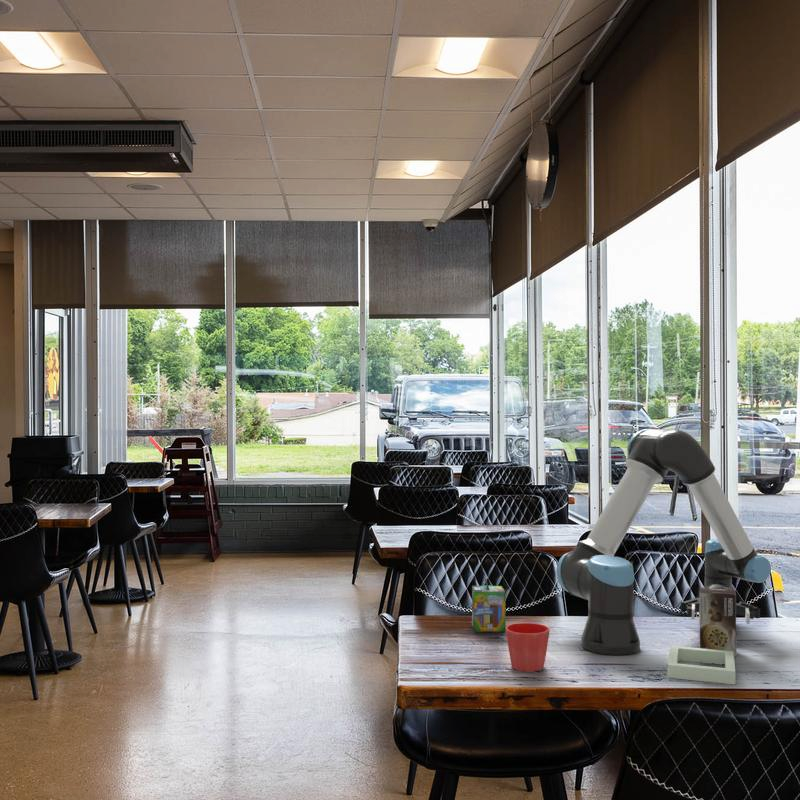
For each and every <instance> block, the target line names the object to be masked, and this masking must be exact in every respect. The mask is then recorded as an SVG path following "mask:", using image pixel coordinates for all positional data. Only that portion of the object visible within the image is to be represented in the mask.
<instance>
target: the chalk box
mask: <svg viewBox="0 0 800 800" xmlns="http://www.w3.org/2000/svg"><path fill="white" fill-rule="evenodd" d="M483 579H484V581H485V585H472V586H471V628H472V630H473V632H474V633H486V632H490V633H492V632H493V633H494V632H495V633H496V632H502V633H503V632H504V633H506V626H507V625H506V624H507V623H506V620H507V618H506V615H507V614H506V613H507V612H506V591H505V589H504V587H503V586H502V585H489V584H488V581H487V577H486V576H485V575H483Z"/></svg>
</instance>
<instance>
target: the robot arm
mask: <svg viewBox="0 0 800 800" xmlns="http://www.w3.org/2000/svg"><path fill="white" fill-rule="evenodd" d="M626 450H627V453H626V455H627V458H626V460H625V465H626V471H625V473H624V474H623V476H622V477H621V479H620V481H619V482H618V484H617V485H616V488H614V489H615V490H614V491H613V493H612V495H611V497H609V498H610V499H608V501H607V503H606V505H605V506H604V508H603V510H602V512H601V513H600V515H599V516H598V519H597V520H596V522H595V524H594V526H593V528H592V529H591V531H590V532H589V534H588V536H587V537H586V539H583V540H579V541H578V542H577V544H576V546H574V547H575V548H573V550H571V551H568V552H566V553H564V554H563V555H562V556H561V557H560V558H559V560H558V562H557V564H556V570H555V571H556V579H557V582H558V584H559V585H560V587H561V588H562V589H563V590H564V591H566V592H567V593H568V594H570V595H572V596H575V597H577V598H582V599H584V600H586V601H588V603H587V604H588V605H587V606H588V609H587V611H588V612H587V614H588V616H587V620H586V623H585V626H584V628H583V631H582V635H581V642H580V643H581V644H580V645H581V647H582V649H584V650H586V651H589V652H591V653H596V654H601V655H602V654H603V655H612V656H613V655H615V656H625V655H632V654H637V653H638V652H640V651H641V640H640V637H639V634H638V630H637V627H636V624H635V621H634V600H635V599H634V596H635V595H634V591H635V590H634V587H635V586H634V585H635V573H634V566H633V564H632V562H631V561H629V560H627V559H625V558H624V557H620V556H615V554H616V552H617V550H618V549H619V547H620V545H621V544H622V541H623V539H624V538H625V537H626V534H627V533H628V531H629V529H630V527H632V524H633V522H634V520H635V519H636V517H637V516H638V513H639V512H640V510H641V508H642V507H643V505H644V503H645V501H646V499H647V498H648V496H649V494H650V492H651V491H652V489H653V487H654V486H655V485H656V484H660V483H662V482H663V481H664V479H665V478H666V476H667V474H668V472H669V471H670V472H673V473H674V474H676V475H677V476H678V478H679V479H680V481H681V483H682V484H683V485H685V486H688V487H689V490H690V492H691V494H692V495H693V497H694V499H695V500H696V502H697V504H698V506H699V508H700V509H701V512H702V513H703V515H704V517H705V519H706V520H707V522H708V524H709V526H710V528H711V530H712V532H713V533H714V535H715V537H716V539H708V540H707V541H706V542H705V547H704V548H705V549H704V586H703V588H717V589H733V588H732V583H733V578H737V579H740V580H743V581H747V582H750V583H751V582H752V583H757V584H758V583H759V584H760V583H764V582H765V581H767V580H768V579H769V577H770V575H771V574H772V573H771V572H772V565H771V563H770V561H769V560H768V559H767V558H766V557H764V556H763V555H761V554H758V553H757V552H756V550H755V548H754V545H752V542H751V541H750V538H749V536H748V535H747V532H746V531H745V529H744V527H743V525H742V523H741V522H740V520H739V518H738V515H737V514H736V513H735V511H734V508H733V506H732V504H731V503H730V501H729V499H728V497H727V496H726V494H725V492H724V490H723V488H722V486H721V484H720V482H719V481H718V479H717V477H716V475H715V473H716V467H715V465H714V463H713V462H712V459H711V458H710V456H709V454H708V453H707V451H706V450H705V449H704V448H703V446H702V445H701V444H700V443H699V441H697V439H695V438H694V436H692V435H691V434H689V433H688V432H686V431H684V430H680V429H663V428H662V429H661V428H657V427H651V428H644V429H640V430H638V431H637V432H635V433H634V434H632V436H631V437H630V439H629V440H628V443H627V447H626ZM680 612H681V613H687V616H689V617H691V620H696V616H695V615H696V613H700V604H699V597H693V598H691V599H688V600H685V601H681V602H680ZM736 615H739V616H742V617H745V623H746V624H747V625H750V624H751V623H750V622H751V620H754V618H756V619H760V618H761V608H759V607H757V606H755V605H752V604H750V603H748V602H746V601H745V600H740V602H739V603H736Z"/></svg>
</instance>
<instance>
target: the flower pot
mask: <svg viewBox="0 0 800 800" xmlns="http://www.w3.org/2000/svg"><path fill="white" fill-rule="evenodd" d="M550 631H551V629H550V627H548V626H547V625H544V624H542V623H533V622H517V623H511V624H508V625H506V632H505V635H506V636H505V637H506V641H507V647H508V652H509V659H510V663H511V664H510V665H511V668H512V669H514V670H515V671H520V672H528V673H529V672H530V673H535V672H537V671H542V670H543V669H544V668H545V667H544V666H545V661H546V655H547V651H548V645H549V637H550Z"/></svg>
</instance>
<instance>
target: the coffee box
mask: <svg viewBox="0 0 800 800" xmlns="http://www.w3.org/2000/svg"><path fill="white" fill-rule="evenodd" d="M698 593H699V595H698V596H699V597H698V599H699V604H700V612H699V648H702V649H713V650H724V651H733V654H734V657H737V614H736V604H737V593H736V589H733V588H732V589H717V588H704V587H699V591H698Z"/></svg>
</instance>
